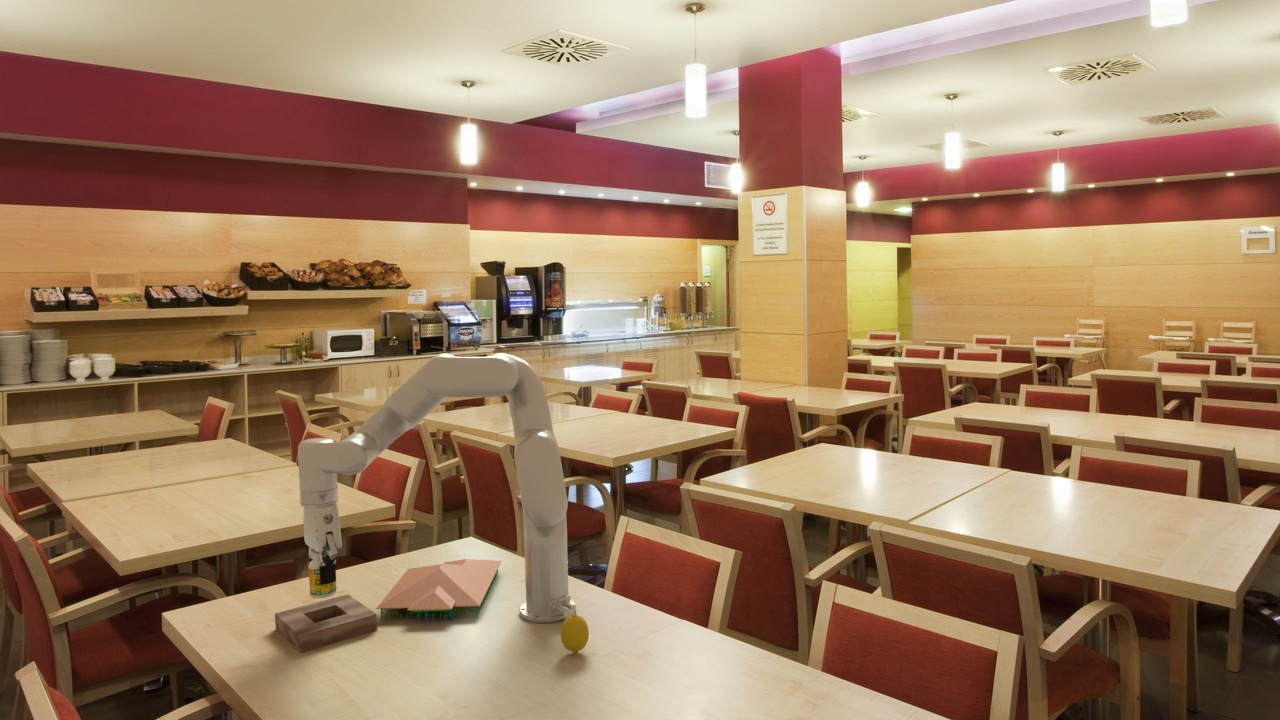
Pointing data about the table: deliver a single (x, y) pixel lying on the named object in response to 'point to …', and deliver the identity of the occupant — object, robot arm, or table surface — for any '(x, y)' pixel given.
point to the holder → (325, 622)
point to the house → (442, 587)
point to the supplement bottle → (314, 578)
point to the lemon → (574, 633)
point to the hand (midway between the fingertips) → (322, 578)
